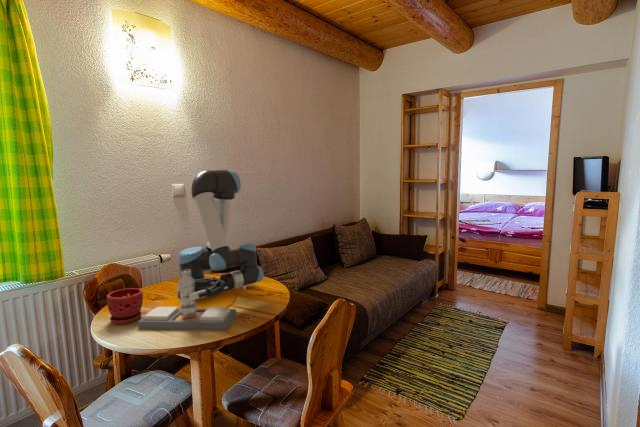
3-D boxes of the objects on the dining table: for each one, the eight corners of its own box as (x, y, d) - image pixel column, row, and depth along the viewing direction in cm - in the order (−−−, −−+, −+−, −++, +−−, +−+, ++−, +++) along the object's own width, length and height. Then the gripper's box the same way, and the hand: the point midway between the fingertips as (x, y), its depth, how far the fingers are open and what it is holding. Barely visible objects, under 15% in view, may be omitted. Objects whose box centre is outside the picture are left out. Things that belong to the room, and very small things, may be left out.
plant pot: (140, 323, 137) (138, 296, 136) (104, 328, 134) (101, 299, 132) (147, 311, 150) (145, 285, 148) (114, 314, 146) (112, 288, 145)
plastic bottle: (200, 314, 140) (198, 268, 138) (189, 321, 134) (186, 273, 131) (188, 312, 142) (185, 267, 140) (176, 319, 136) (173, 272, 133)
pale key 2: (209, 311, 143) (208, 307, 142) (230, 311, 142) (230, 307, 142) (200, 321, 133) (200, 316, 133) (223, 321, 133) (223, 317, 133)
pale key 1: (157, 311, 144) (156, 306, 143) (178, 311, 143) (178, 306, 143) (144, 320, 134) (144, 316, 134) (167, 321, 134) (167, 316, 134)
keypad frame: (155, 314, 146) (155, 308, 145) (236, 315, 144) (236, 309, 144) (138, 328, 133) (137, 321, 132) (226, 329, 131) (226, 322, 131)
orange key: (183, 316, 143) (183, 312, 143) (204, 316, 143) (204, 312, 143) (172, 326, 134) (172, 321, 134) (195, 326, 134) (195, 322, 133)
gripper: (245, 296, 141) (195, 310, 127) (219, 282, 159) (173, 293, 145) (244, 279, 140) (194, 291, 126) (218, 266, 158) (172, 276, 144)
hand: (183, 292), depth 136 cm, fingers open, 13 cm apart
